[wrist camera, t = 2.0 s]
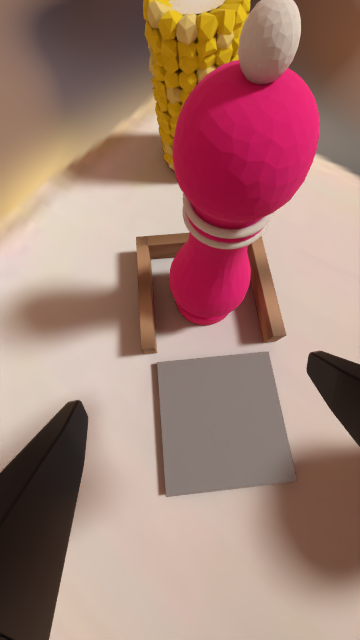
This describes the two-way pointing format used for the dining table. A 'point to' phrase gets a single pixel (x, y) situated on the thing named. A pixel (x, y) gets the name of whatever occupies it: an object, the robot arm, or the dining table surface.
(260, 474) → the rubber mat
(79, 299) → the dining table surface
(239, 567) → the dining table surface
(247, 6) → the food
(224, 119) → the pepper mill
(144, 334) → the frame
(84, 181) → the dining table surface
